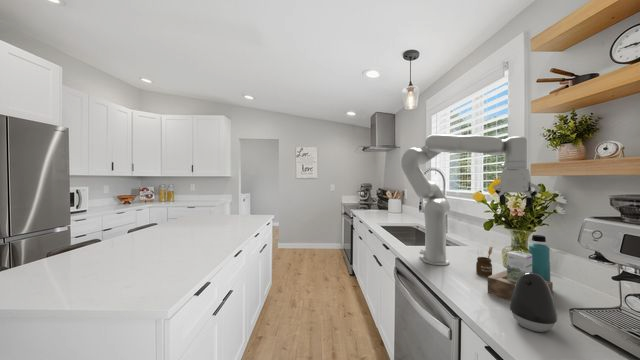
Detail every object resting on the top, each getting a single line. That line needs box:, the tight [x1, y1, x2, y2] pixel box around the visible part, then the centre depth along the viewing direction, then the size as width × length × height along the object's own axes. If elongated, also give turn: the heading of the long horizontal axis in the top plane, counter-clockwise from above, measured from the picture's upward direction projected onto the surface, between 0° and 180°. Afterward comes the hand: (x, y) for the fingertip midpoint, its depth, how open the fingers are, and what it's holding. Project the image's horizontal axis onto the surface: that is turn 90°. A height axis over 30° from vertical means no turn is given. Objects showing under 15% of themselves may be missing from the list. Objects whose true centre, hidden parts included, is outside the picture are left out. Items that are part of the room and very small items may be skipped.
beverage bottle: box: [528, 234, 552, 282], centre depth 100 cm, size 6×7×20 cm
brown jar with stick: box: [475, 246, 493, 278], centre depth 113 cm, size 6×6×12 cm
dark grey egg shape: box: [509, 272, 558, 333], centre depth 73 cm, size 10×10×15 cm
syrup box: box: [506, 250, 532, 282], centre depth 92 cm, size 6×6×14 cm
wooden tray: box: [487, 269, 554, 302], centre depth 92 cm, size 14×14×6 cm
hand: (515, 206), depth 111 cm, fingers open, 9 cm apart
